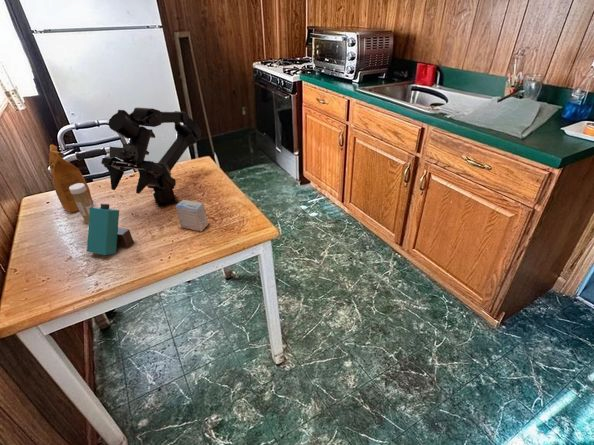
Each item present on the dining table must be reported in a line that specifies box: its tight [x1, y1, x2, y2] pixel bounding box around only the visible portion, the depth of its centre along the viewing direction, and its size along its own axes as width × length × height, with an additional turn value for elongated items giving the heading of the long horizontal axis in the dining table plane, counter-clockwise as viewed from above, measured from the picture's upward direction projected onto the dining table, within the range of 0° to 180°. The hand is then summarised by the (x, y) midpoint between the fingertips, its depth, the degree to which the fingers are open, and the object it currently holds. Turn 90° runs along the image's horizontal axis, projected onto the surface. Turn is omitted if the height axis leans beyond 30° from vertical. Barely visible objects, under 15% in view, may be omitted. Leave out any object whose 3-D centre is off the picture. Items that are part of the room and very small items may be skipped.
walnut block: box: [116, 227, 135, 249], centre depth 101 cm, size 3×10×5 cm, turn 74°
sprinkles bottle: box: [69, 183, 95, 225], centre depth 110 cm, size 5×5×13 cm
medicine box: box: [175, 199, 209, 232], centre depth 107 cm, size 8×4×9 cm, turn 71°
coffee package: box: [48, 143, 94, 213], centre depth 117 cm, size 10×12×22 cm
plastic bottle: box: [86, 203, 120, 256], centre depth 97 cm, size 10×7×14 cm, turn 164°
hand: (125, 191), depth 103 cm, fingers open, 9 cm apart
